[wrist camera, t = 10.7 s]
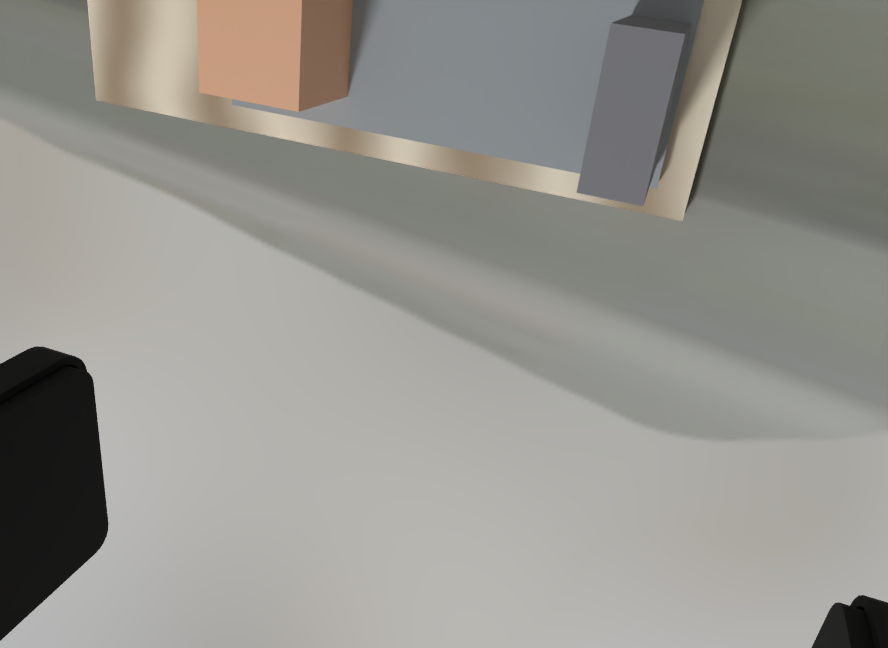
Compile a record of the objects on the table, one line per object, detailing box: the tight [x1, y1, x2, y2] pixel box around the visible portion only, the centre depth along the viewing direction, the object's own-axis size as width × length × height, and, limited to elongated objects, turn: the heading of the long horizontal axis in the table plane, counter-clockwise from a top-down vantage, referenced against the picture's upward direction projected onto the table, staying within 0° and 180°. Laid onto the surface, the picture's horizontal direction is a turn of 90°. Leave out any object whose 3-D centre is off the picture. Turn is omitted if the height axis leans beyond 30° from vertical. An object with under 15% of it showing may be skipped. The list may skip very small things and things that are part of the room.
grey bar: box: [232, 0, 704, 206], centre depth 32 cm, size 22×8×8 cm, turn 83°
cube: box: [197, 0, 353, 112], centre depth 35 cm, size 5×5×5 cm
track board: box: [87, 0, 742, 221], centre depth 37 cm, size 33×11×1 cm, turn 83°
